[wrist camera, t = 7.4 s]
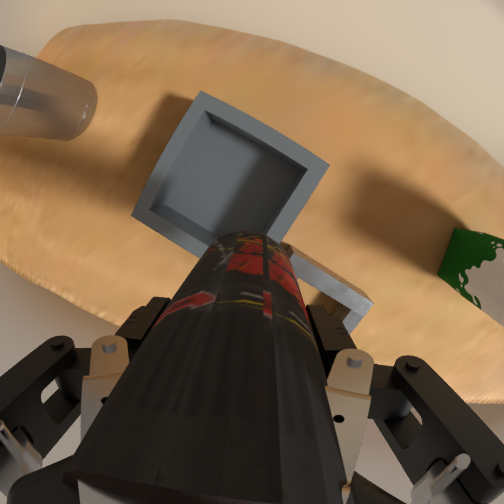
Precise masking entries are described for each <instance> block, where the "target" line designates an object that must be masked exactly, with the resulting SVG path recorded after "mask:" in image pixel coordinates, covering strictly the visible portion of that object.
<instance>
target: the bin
mask: <svg viewBox="0 0 504 504" xmlns="http://www.w3.org/2000/svg"><path fill="white" fill-rule="evenodd" d="M329 166H330V165H329V164H328V163H326V162H325V161H323V160H322V159H320V158H319V157H317V156H316V155H314V154H313V153H311V152H310V151H308V150H307V149H305V148H304V147H302V146H301V145H299V144H297V143H296V142H294V141H293V140H291V139H289V138H288V137H286V136H284V135H283V134H281V133H279V132H278V131H276V130H274V129H273V128H271V127H269V126H267V125H266V124H264V123H262V122H260V121H259V120H257V119H255V118H253V117H251V116H250V115H248V114H246V113H244V112H242V111H240V110H238V109H237V108H235V107H233V106H231V105H229V104H227V103H225V102H223V101H221V100H219V99H217V98H215V97H213V96H211V95H209V94H207V93H204V92H202V91H200V92H199V94H198V95H197V97H196V98H195V100H194V101H193V103H192V104H191V106H190V107H189V109H188V111H187V112H186V114H185V115H184V117H183V119H182V120H181V122H180V123H179V125H178V127H177V128H176V130H175V132H174V134H173V135H172V137H171V139H170V140H169V142H168V144H167V146H166V147H165V149H164V151H163V153H162V155H161V156H160V158H159V160H158V162H157V164H156V166H155V168H154V170H153V171H152V173H151V175H150V177H149V179H148V181H147V183H146V185H145V187H144V189H143V191H142V193H141V195H140V197H139V200H138V202H137V204H136V206H135V208H134V210H133V212H132V215H131V216H132V217H134V218H135V219H137V220H139V221H140V222H142V223H143V224H145V225H147V226H148V227H150V228H151V229H153V230H155V231H156V232H158V233H159V234H161V235H163V236H164V237H166V238H167V239H169V240H171V241H172V242H174V243H176V244H177V245H179V246H180V247H182V248H184V249H185V250H187V251H189V252H190V253H192V254H194V255H195V256H197V257H199V258H201V257H202V255H203V254H204V253H205V251H206V250H207V249H208V247H209V246H210V245H211V244H212V243H214V242H215V241H216V240H217V239H218V238H220V237H222V236H224V235H226V234H228V233H232V232H237V231H255V232H258V233H261V234H264V235H267V236H268V237H270V238H271V239H273V240H275V241H276V242H277V243H278V244H280V242H281V241H282V239H283V238H284V236H285V235H286V233H287V232H288V230H289V228H290V227H291V225H292V224H293V222H294V221H295V219H296V218H297V216H298V215H299V213H300V211H301V210H302V208H303V207H304V205H305V204H306V202H307V200H308V199H309V197H310V196H311V194H312V193H313V191H314V189H315V188H316V186H317V185H318V183H319V182H320V180H321V178H322V177H323V175H324V174H325V172H326V170H327V169H328V167H329Z"/></svg>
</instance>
